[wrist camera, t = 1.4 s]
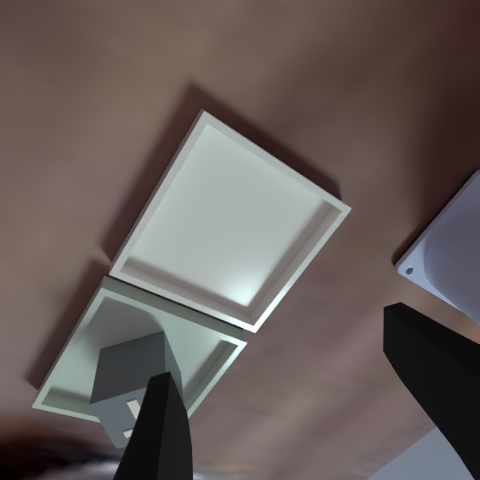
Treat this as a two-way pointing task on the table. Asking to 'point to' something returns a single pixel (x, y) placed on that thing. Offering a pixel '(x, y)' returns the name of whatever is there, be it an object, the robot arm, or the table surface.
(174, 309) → the tray
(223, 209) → the tray
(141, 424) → the robot arm
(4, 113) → the table surface
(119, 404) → the letter cube
